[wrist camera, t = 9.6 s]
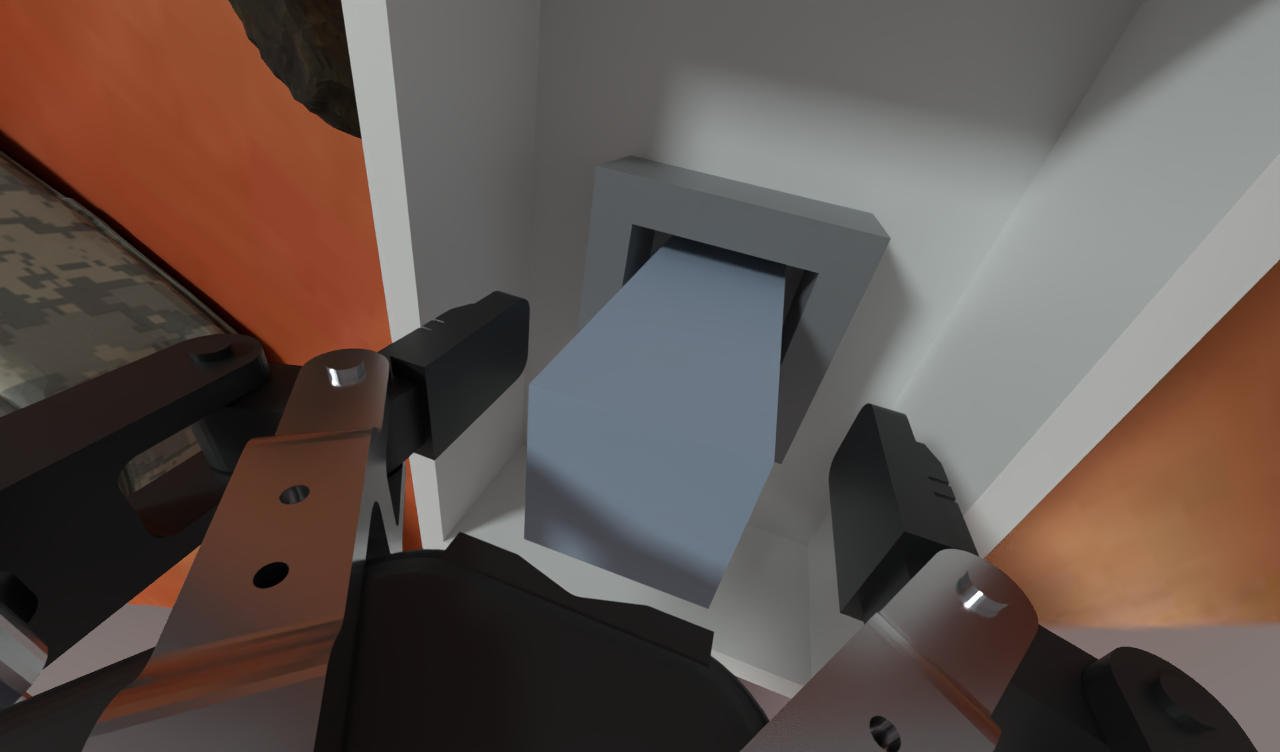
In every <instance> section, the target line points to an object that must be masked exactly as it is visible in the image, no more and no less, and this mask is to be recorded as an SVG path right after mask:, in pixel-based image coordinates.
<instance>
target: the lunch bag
mask: <svg viewBox="0 0 1280 752" xmlns="http://www.w3.org/2000/svg"><path fill="white" fill-rule="evenodd" d="M212 334H238V333H237V332H236V331H235V330H234V329H233V328H232V327H231V326H229V325H228V324H227V323H226V322H225V321H224V320H222V319H221V318H220V317H219V316H217V315H216V314H215V313H214V312H213V311H212V310H210V309H209V308H208V307H207V306H206V305H205V304H204V303H202V302H201V301H200V300H199V299H198V298H197V297H195V296H194V295H193V294H192V293H191V292H189V291H188V290H187V289H186V288H185V287H183V286H182V285H181V284H180V283H179V282H177V281H176V280H175V279H174V278H172V277H171V276H170V275H169V274H167V273H166V272H165V271H163V270H162V269H161V268H160V267H158V266H157V265H156V264H154V263H153V262H152V261H151V260H149V259H148V258H147V257H146V256H144V255H143V254H142V253H140V252H139V251H138V250H137V249H136V248H134V247H133V246H132V245H131V244H129V243H128V242H127V241H126V240H124V239H123V238H122V237H121V236H120V235H119V234H118V233H116V232H115V231H114V230H113V229H112V228H111V227H110V226H109V225H107V224H106V223H105V222H104V221H103V220H101V219H100V218H99V217H97V216H96V215H95V214H93V213H92V212H90V211H89V210H88V209H86V208H85V207H84V206H82V205H81V204H79V203H78V202H77V201H75V200H74V199H72V198H66V197H65V196H64V195H62V194H61V193H59V192H58V191H56V190H55V189H53V188H52V187H51V186H49V185H48V184H46V183H45V182H43V181H42V180H41V179H39V178H38V177H36V176H35V175H34V174H32V173H31V172H30V171H28V170H27V169H25V168H24V167H23V166H21V165H20V164H19V163H17V162H16V161H14V160H13V159H12V158H10V157H9V156H8V155H6V154H5V153H3V152H2V151H1V150H0V417H2V416H5V415H7V414H9V413H12V412H14V411H17V410H19V409H21V408H24V407H26V406H29V405H31V404H33V403H36V402H38V401H41V400H43V399H45V398H48V397H50V396H53V395H55V394H57V393H60V392H62V391H65V390H67V389H69V388H72V387H74V386H77V385H79V384H81V383H84V382H86V381H88V380H91V379H93V378H96V377H98V376H100V375H103V374H105V373H108V372H110V371H112V370H115V369H117V368H120V367H122V366H124V365H127V364H129V363H132V362H134V361H136V360H139V359H141V358H144V357H146V356H148V355H151V354H153V353H156V352H158V351H160V350H163V349H165V348H168V347H170V346H172V345H175V344H177V343H180V342H182V341H185V340H188V339H192V338H196V337H200V336H206V335H212ZM200 451H201V448H200V446H199V444H198V442H197V440H196V438H195V436H194V434H193V432H192V430H191V428H190V426H188V427H186V428H185V429H183V430H181V431H179V432H178V433H176V434H174V435H172V436H171V437H169V438H167V439H165V440H164V441H162V442H160V443H158V444H157V445H155V446H153V447H151V448H150V449H148V450H146V451H144V452H143V453H141V454H139V455H137V456H136V457H134V458H133V459H132V460H131V461H129V462H128V463H127V464H126V465H125V467H124V468H123V469H122V471H121V473H120V475H119V479H118V485H119V488H120V490H121V492H122V493H123V495H124V496H125V498H126V497H128V496H129V495H131V494H133V493H134V492H136V491H137V490H139V489H141V488H142V487H144V486H145V485H147V484H149V483H150V482H152V481H153V480H155V479H157V478H158V477H160V476H161V475H163V474H165V473H166V472H168V471H169V470H171V469H173V468H174V467H176V466H177V465H179V464H181V463H182V462H184V461H185V460H187V459H189V458H190V457H192V456H193V455H195V454H196V453H198V452H200Z"/></svg>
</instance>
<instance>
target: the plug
mask: <svg viewBox="0 0 1280 752" xmlns="http://www.w3.org/2000/svg"><path fill="white" fill-rule="evenodd" d="M785 274H786V264H782V263H778V262H774V261H770V260H767V259H763V258H759V257H755V256H752V255H748V254H744V253H740V252H736V251H733V250H729V249H725V248H721V247H717V246H714V245H710V244H706V243H702V242H699V241H695V240H691V239H687V238H683V237H680V236H676V235H672V236H671V237H670V238H669V240H668V241H667V242H666V243H665V244H664V245H663V246H662V247H661V248H660V249H659V250H658V251H657V252H656V253H655V254H654V255H653V256H652V257H651V258H650V259H649V260H648V261H647V262H646V263H645V264H644V265H643V267H642V268H641V269H640V270H639V271H638V272H637V273H636V274H635V275H634V276H633V277H632V278H631V279H630V280H629V281H628V282H627V283H626V284H625V285H624V286H623V287H622V288H621V289H620V290H619V291H618V292H617V294H616V295H615V296H614V297H613V298H612V299H611V300H610V301H609V302H608V303H607V304H606V305H605V306H604V307H603V308H602V309H601V310H600V311H599V312H598V313H597V314H596V315H595V316H594V317H593V318H592V319H591V321H590V322H589V323H588V324H587V325H586V326H585V327H584V328H583V329H582V330H581V331H580V332H579V333H578V334H577V335H576V336H575V337H574V338H573V339H572V340H571V341H570V342H569V343H568V344H567V345H566V346H565V348H564V349H563V350H562V351H561V352H560V353H559V354H558V355H557V356H556V357H555V358H554V359H553V360H552V361H551V362H550V363H549V364H548V365H547V366H546V367H545V368H544V369H543V370H542V371H541V372H540V373H539V375H538V376H537V377H536V378H535V379H534V380H533V381H532V382H531V383H530V384H529V400H528V431H527V462H526V492H525V523H524V539H525V540H528V541H531V542H533V543H536V544H538V545H541V546H544V547H546V548H549V549H552V550H554V551H557V552H560V553H562V554H565V555H567V556H570V557H573V558H575V559H578V560H581V561H583V562H586V563H589V564H591V565H594V566H596V567H599V568H602V569H604V570H607V571H610V572H612V573H615V574H617V575H620V576H623V577H625V578H628V579H631V580H633V581H636V582H639V583H641V584H644V585H646V586H649V587H652V588H654V589H657V590H660V591H662V592H665V593H668V594H670V595H673V596H675V597H678V598H681V599H683V600H686V601H689V602H691V603H694V604H697V605H699V606H702V607H704V608H707V609H709V606H710V604H711V602H712V600H713V598H714V595H715V593H716V591H717V589H718V586H719V584H720V582H721V580H722V578H723V575H724V573H725V571H726V569H727V566H728V564H729V562H730V560H731V558H732V555H733V553H734V551H735V549H736V547H737V544H738V542H739V540H740V538H741V535H742V533H743V531H744V529H745V527H746V524H747V522H748V520H749V518H750V515H751V513H752V511H753V509H754V507H755V504H756V502H757V500H758V498H759V495H760V493H761V491H762V489H763V487H764V484H765V482H766V480H767V478H768V475H769V473H770V471H771V469H772V467H773V464H774V458H775V441H776V424H777V408H778V391H779V374H780V357H781V341H782V324H783V307H784V291H785Z"/></svg>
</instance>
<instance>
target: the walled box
mask: <svg viewBox="0 0 1280 752" xmlns="http://www.w3.org/2000/svg"><path fill="white" fill-rule="evenodd" d="M341 2H342V9H343V16H344V23H345V29H346V36H347V43H348V49H349V56H350V63H351V70H352V76H353V83H354V90H355V96H356V103H357V110H358V117H359V123H360V130H361V137H362V144H363V150H364V157H365V164H366V170H367V177H368V184H369V191H370V197H371V204H372V211H373V217H374V224H375V231H376V238H377V244H378V251H379V258H380V264H381V271H382V278H383V285H384V291H385V298H386V305H387V312H388V318H389V325H390V332H391V338H392V343H394V342H395V341H397V340H399V339H401V338H402V337H404V336H406V335H407V334H409V333H411V332H412V331H414V330H416V329H418V328H422V326H423V325H424V324H426V323H428V322H429V321H431V320H434V321H435V318H436V317H438V316H440V315H441V314H443V313H445V312H446V311H448V310H450V309H452V308H456V307H460V306H464V305H468V304H471V303H472V304H474V303H476V302H478V301H479V300H481V299H483V298H484V297H486V296H487V295H489V294H491V293H492V292H494V291H501V292H504V293H507V294H511V295H514V296H517V297H521V298H524V299H526V300H527V301H528V302H529V306H530V319H529V343H528V358H527V363H526V366H525V368H524V370H523V372H522V374H521V376H520V377H519V378H518V379H517V380H516V381H515V382H514V383H513V384H512V385H511V386H510V387H509V388H508V389H507V390H506V391H505V392H504V393H503V394H502V395H501V396H500V397H499V398H498V399H497V400H496V401H495V402H494V403H493V404H492V405H491V406H490V407H489V408H488V409H487V410H486V411H485V412H484V413H483V414H482V415H481V416H480V417H478V418H477V419H476V420H475V421H474V422H473V423H472V424H471V425H470V426H469V427H468V428H467V429H466V430H465V431H464V432H463V433H462V434H461V435H460V436H459V437H458V438H457V439H456V440H455V441H454V442H453V443H452V444H451V445H450V446H449V447H448V448H447V449H446V450H445V451H444V452H443V453H442V454H441V455H440V456H439V457H438V458H437V459H436V460H432V459H429V458H426V457H424V456H421V455H418V454H416V453H413V454H412V455H411V456H409V459H410V466H411V473H412V480H413V486H414V493H415V500H416V506H417V513H418V520H419V527H420V533H421V540H422V547H423V549H441V550H446V548H447V547H448V546H449V544H450V543H451V542H452V541H453V539H454V538H455V537H456V536H457V534H458V533H459V532H462V533H465V534H467V535H470V536H472V537H475V538H477V539H480V540H483V541H485V542H488V543H490V544H493V545H495V546H498V547H500V548H503V549H505V550H508V551H510V552H513V553H516V554H518V555H519V556H521V557H522V558H523V559H525V560H526V561H527V562H529V563H530V564H531V565H533V566H534V567H535V568H537V569H538V570H539V571H541V572H542V573H543V574H545V575H546V576H547V577H549V578H550V579H551V580H553V581H554V582H555V583H557V584H558V585H559V586H561V587H562V588H563V589H565V590H566V591H567V592H569V593H571V594H573V595H575V596H578V597H584V598H592V599H600V600H608V601H616V602H624V603H632V604H640V605H647V606H650V607H653V608H655V609H658V610H660V611H663V612H665V613H668V614H670V615H673V616H675V617H678V618H680V619H683V620H686V621H688V622H691V623H693V624H696V625H698V626H701V627H703V628H706V629H708V630H711V631H713V632H714V637H713V644H712V650H711V656H712V657H714V658H715V659H716V660H718V661H719V662H720V663H721V664H723V665H724V666H725V667H726V668H727V669H728V670H729V671H730V672H731V673H732V674H734V675H735V676H737V677H740V678H742V679H745V680H747V681H750V682H752V683H755V684H757V685H760V686H762V687H764V688H767V689H769V690H772V691H774V692H777V693H779V694H782V695H784V696H787V697H789V698H791V699H792V698H793V697H794V696H795V695H796V694H797V693H798V692H799V691H800V690H801V689H802V688H803V687H804V686H805V685H806V684H807V683H808V682H809V681H810V680H811V679H812V678H813V677H814V676H815V674H816V673H817V672H818V671H819V670H820V669H821V668H822V667H823V666H824V665H825V664H826V663H827V662H828V661H829V660H830V659H831V658H832V657H833V656H834V655H835V654H836V653H837V652H838V651H839V650H840V649H841V648H842V647H843V646H844V645H845V644H846V643H847V642H848V641H849V640H850V639H851V638H852V637H853V636H854V635H855V634H856V633H857V632H858V631H859V630H860V629H861V628H862V627H863V626H864V622H863V621H860V620H858V619H855V618H852V617H850V616H847V615H844V614H841V613H840V608H839V597H838V585H837V574H836V562H835V551H834V540H833V528H832V517H831V505H830V494H829V482H828V479H829V471H830V467H831V463H832V461H833V458H834V456H835V454H836V452H837V450H838V448H839V447H840V445H841V443H842V441H843V440H844V438H845V436H846V434H847V433H848V431H849V429H850V427H851V426H852V424H853V422H854V420H855V419H856V417H857V415H858V413H859V412H860V410H861V409H862V407H863V406H864V405H865V404H867V403H870V404H874V405H877V406H880V407H884V408H887V409H890V410H893V411H897V412H900V413H903V414H905V415H906V416H907V418H908V421H909V423H910V426H911V429H912V432H913V435H914V437H915V440H916V441H917V442H920V443H923V444H925V445H926V446H927V448H928V449H929V450H930V451H931V452H932V453H933V454H934V456H935V457H936V458H937V459H938V460H939V461H940V462H941V464H942V466H943V469H944V471H945V473H946V476H947V478H948V481H949V485H948V486H950V487H951V488H952V491H953V493H954V495H955V498H956V500H955V502H956V503H958V505H959V508H960V510H961V513H962V515H963V518H964V520H965V522H966V525H967V527H968V530H969V532H970V535H971V537H972V540H973V542H974V545H975V547H976V549H977V552H978V554H979V557H981V558H983V559H984V558H985V557H986V556H987V555H988V554H989V553H990V552H991V551H992V550H993V549H994V548H995V547H996V546H997V545H998V544H999V543H1000V542H1001V541H1002V540H1003V539H1004V538H1005V537H1006V536H1007V535H1008V534H1009V532H1010V531H1011V530H1012V529H1013V528H1014V527H1015V526H1016V525H1017V524H1018V523H1019V522H1020V521H1021V520H1022V519H1023V518H1024V517H1025V516H1026V515H1027V514H1028V513H1029V512H1030V511H1031V510H1032V509H1033V508H1034V507H1035V506H1036V505H1037V504H1038V503H1039V502H1040V501H1041V500H1042V499H1043V498H1044V497H1045V496H1046V495H1047V494H1048V493H1049V492H1050V491H1051V490H1052V489H1053V488H1054V487H1055V486H1056V485H1057V484H1058V483H1059V482H1060V481H1061V480H1062V479H1063V478H1064V477H1065V476H1066V475H1067V474H1068V473H1069V472H1070V471H1071V470H1072V469H1073V468H1074V467H1075V466H1076V465H1077V464H1078V463H1079V462H1080V461H1081V460H1082V459H1083V458H1084V457H1085V456H1086V455H1087V454H1088V453H1089V452H1090V451H1091V450H1092V449H1093V448H1094V447H1095V446H1096V445H1097V444H1098V443H1099V442H1100V441H1101V440H1102V439H1103V438H1104V437H1105V435H1106V434H1107V433H1108V432H1109V431H1110V430H1111V429H1112V428H1113V427H1114V426H1115V425H1116V424H1117V423H1118V422H1119V421H1120V420H1121V419H1122V418H1123V417H1124V416H1125V415H1126V414H1127V413H1128V412H1129V411H1130V410H1131V409H1132V408H1133V407H1134V406H1135V405H1136V404H1137V403H1138V402H1139V401H1140V400H1141V399H1142V398H1143V397H1144V396H1145V395H1146V394H1147V393H1148V392H1149V391H1150V390H1151V389H1152V388H1153V387H1154V386H1155V385H1156V384H1157V383H1158V382H1159V381H1160V380H1161V379H1162V378H1163V377H1164V376H1165V375H1166V374H1167V373H1168V372H1169V371H1170V370H1171V369H1172V368H1173V367H1174V366H1175V365H1176V364H1177V363H1178V362H1179V361H1180V360H1181V359H1182V358H1183V357H1184V356H1185V355H1186V354H1187V353H1188V352H1189V351H1190V350H1191V349H1192V348H1193V347H1194V346H1195V345H1196V344H1197V343H1198V342H1199V341H1200V339H1201V338H1202V337H1203V336H1204V335H1205V334H1206V333H1207V332H1208V331H1209V330H1210V329H1211V328H1212V327H1213V326H1214V325H1215V324H1216V323H1217V322H1218V321H1219V320H1220V319H1221V318H1222V317H1223V316H1224V315H1225V314H1226V313H1227V312H1228V311H1229V310H1230V309H1231V308H1232V307H1233V306H1234V305H1235V304H1236V303H1237V302H1238V301H1239V300H1240V299H1241V298H1242V297H1243V296H1244V295H1245V294H1246V293H1247V292H1248V291H1249V290H1250V289H1251V288H1252V287H1253V286H1254V285H1255V284H1256V283H1257V282H1258V281H1259V280H1260V279H1261V278H1262V277H1263V276H1264V275H1265V274H1266V273H1267V272H1268V271H1269V270H1270V269H1271V268H1272V267H1273V266H1274V265H1275V264H1276V263H1277V262H1278V261H1279V260H1280V0H341ZM672 235H676V236H680V237H683V238H687V239H691V240H695V241H699V242H702V243H706V244H710V245H714V246H717V247H721V248H725V249H729V250H733V251H736V252H740V253H744V254H748V255H752V256H755V257H759V258H763V259H767V260H770V261H774V262H778V263H782V264H786V274H785V291H784V307H783V324H782V341H781V357H780V374H779V391H778V408H777V424H776V441H775V458H774V464H773V467H772V469H771V471H770V473H769V475H768V478H767V480H766V482H765V484H764V487H763V489H762V491H761V493H760V495H759V498H758V500H757V502H756V504H755V507H754V509H753V511H752V513H751V515H750V518H749V520H748V522H747V524H746V527H745V529H744V531H743V533H742V535H741V538H740V540H739V542H738V544H737V547H736V549H735V551H734V553H733V555H732V558H731V560H730V562H729V564H728V566H727V569H726V571H725V573H724V575H723V578H722V580H721V582H720V584H719V586H718V589H717V591H716V593H715V595H714V598H713V600H712V602H711V604H710V606H709V609H707V608H704V607H702V606H699V605H697V604H694V603H691V602H689V601H686V600H683V599H681V598H678V597H675V596H673V595H670V594H668V593H665V592H662V591H660V590H657V589H654V588H652V587H649V586H646V585H644V584H641V583H639V582H636V581H633V580H631V579H628V578H625V577H623V576H620V575H617V574H615V573H612V572H610V571H607V570H604V569H602V568H599V567H596V566H594V565H591V564H589V563H586V562H583V561H581V560H578V559H575V558H573V557H570V556H567V555H565V554H562V553H560V552H557V551H554V550H552V549H549V548H546V547H544V546H541V545H538V544H536V543H533V542H531V541H528V540H525V539H524V523H525V492H526V462H527V431H528V400H529V384H530V383H531V382H532V381H533V380H534V379H535V378H536V377H537V376H538V375H539V373H540V372H541V371H542V370H543V369H544V368H545V367H546V366H547V365H548V364H549V363H550V362H551V361H552V360H553V359H554V358H555V357H556V356H557V355H558V354H559V353H560V352H561V351H562V350H563V349H564V348H565V346H566V345H567V344H568V343H569V342H570V341H571V340H572V339H573V338H574V337H575V336H576V335H577V334H578V333H579V332H580V331H581V330H582V329H583V328H584V327H585V326H586V325H587V324H588V323H589V322H590V321H591V319H592V318H593V317H594V316H595V315H596V314H597V313H598V312H599V311H600V310H601V309H602V308H603V307H604V306H605V305H606V304H607V303H608V302H609V301H610V300H611V299H612V298H613V297H614V296H615V295H616V294H617V292H618V291H619V290H620V289H621V288H622V287H623V286H624V285H625V284H626V283H627V282H628V281H629V280H630V279H631V278H632V277H633V276H634V275H635V274H636V273H637V272H638V271H639V270H640V269H641V268H642V267H643V265H644V264H645V263H646V262H647V261H648V260H649V259H650V258H651V257H652V256H653V255H654V254H655V253H656V252H657V251H658V250H659V249H660V248H661V247H662V246H663V245H664V244H665V243H666V242H667V241H668V240H669V238H670V237H671V236H672Z"/></svg>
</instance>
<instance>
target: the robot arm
mask: <svg viewBox="0 0 1280 752" xmlns="http://www.w3.org/2000/svg"><path fill="white" fill-rule="evenodd" d="M529 319H530V306H529V302H528V301H527V300H526V299H524V298H521V297H517V296H514V295H511V294H507V293H504V292H501V291H494V292H492V293H491V294H489V295H487V296H486V297H484V298H483V299H481V300H479V301H478V302H476V303H474V304H472V303H471V304H468V305H464V306H460V307H456V308H452V309H450V310H448V311H446V312H445V313H443V314H441V315H440V316H438V317H436V318H435V321H434V320H431V321H429V322H428V323H426V324H424V325H423V326H422V328H418V329H416V330H414V331H412V332H411V333H409V334H407V335H406V336H404V337H402V338H401V339H399V340H397V341H395V342H394V343H392V344H390V345H389V346H387V347H385V348H384V349H382V350H380V351H378V352H374V351H371V350H366V349H342V350H335V351H331V352H327V353H324V354H321V355H319V356H316V357H314V358H313V359H311V360H309V361H308V362H307V363H305V364H304V365H303V366H297V365H287V364H277V363H268V361H267V359H266V356H265V353H264V350H263V347H262V344H261V343H260V341H259V340H257V339H255V338H253V337H250V336H247V335H241V334H212V335H206V336H200V337H196V338H192V339H188V340H185V341H182V342H180V343H177V344H175V345H172V346H170V347H168V348H165V349H163V350H160V351H158V352H156V353H153V354H151V355H148V356H146V357H144V358H141V359H139V360H136V361H134V362H132V363H129V364H127V365H124V366H122V367H120V368H117V369H115V370H112V371H110V372H108V373H105V374H103V375H100V376H98V377H96V378H93V379H91V380H88V381H86V382H84V383H81V384H79V385H77V386H74V387H72V388H69V389H67V390H65V391H62V392H60V393H57V394H55V395H53V396H50V397H48V398H45V399H43V400H41V401H38V402H36V403H33V404H31V405H29V406H26V407H24V408H21V409H19V410H17V411H14V412H12V413H9V414H7V415H5V416H2V417H0V752H1258V751H1257V750H1256V748H1255V747H1254V745H1253V744H1252V742H1251V741H1250V739H1249V738H1248V736H1247V735H1246V733H1245V732H1244V731H1243V729H1242V728H1241V727H1240V725H1239V724H1238V722H1237V721H1236V720H1235V719H1234V718H1233V716H1232V715H1231V714H1230V713H1229V712H1228V711H1227V709H1226V708H1225V707H1224V706H1222V704H1221V703H1220V702H1219V701H1218V700H1217V699H1216V698H1215V697H1214V696H1212V695H1211V694H1210V693H1209V692H1208V691H1207V690H1206V689H1205V688H1204V687H1202V686H1201V685H1200V684H1199V683H1197V682H1196V681H1195V680H1194V679H1193V678H1191V677H1190V676H1188V675H1187V674H1186V673H1184V672H1183V671H1181V670H1180V669H1178V668H1177V667H1175V666H1174V665H1172V664H1170V663H1169V662H1167V661H1165V660H1163V659H1162V658H1160V657H1158V656H1156V655H1153V654H1151V653H1149V652H1147V651H1144V650H1141V649H1138V648H1132V647H1120V648H1116V649H1115V650H1113V651H1112V652H1110V653H1108V654H1107V655H1105V656H1104V657H1102V658H1101V659H1099V660H1098V659H1096V658H1095V657H1093V656H1092V655H1090V654H1088V653H1086V652H1085V651H1083V650H1081V649H1080V648H1078V647H1076V646H1075V645H1073V644H1071V643H1069V642H1068V641H1066V640H1064V639H1063V638H1061V637H1059V636H1057V635H1056V634H1054V633H1052V632H1051V631H1049V630H1047V629H1046V628H1044V627H1042V626H1041V625H1039V624H1038V618H1037V614H1036V612H1035V610H1034V607H1033V606H1032V604H1031V602H1030V601H1029V599H1028V598H1027V596H1026V595H1025V594H1024V592H1023V591H1022V590H1021V589H1020V588H1019V586H1018V585H1017V584H1016V583H1015V582H1014V581H1013V580H1012V579H1011V578H1009V577H1008V576H1007V575H1006V574H1005V573H1004V572H1002V571H1001V570H1000V569H998V568H997V567H996V566H994V565H993V564H991V563H989V562H988V561H986V560H984V559H983V558H981V557H979V554H978V552H977V549H976V547H975V545H974V542H973V540H972V537H971V535H970V532H969V530H968V527H967V525H966V522H965V520H964V518H963V515H962V513H961V510H960V508H959V505H958V503H956V502H955V500H956V498H955V495H954V493H953V491H952V488H951V487H950V486H948V485H949V481H948V478H947V476H946V473H945V471H944V469H943V466H942V464H941V462H940V461H939V460H938V459H937V458H936V457H935V456H934V454H933V453H932V452H931V451H930V450H929V449H928V448H927V446H926V445H925V444H923V443H920V442H917V441H916V440H915V437H914V435H913V432H912V429H911V426H910V423H909V421H908V418H907V416H906V415H905V414H903V413H900V412H897V411H893V410H890V409H887V408H884V407H880V406H877V405H874V404H870V403H867V404H865V405H864V406H863V407H862V409H861V410H860V412H859V413H858V415H857V417H856V419H855V420H854V422H853V424H852V426H851V427H850V429H849V431H848V433H847V434H846V436H845V438H844V440H843V441H842V443H841V445H840V447H839V448H838V450H837V452H836V454H835V456H834V458H833V461H832V463H831V467H830V471H829V479H828V482H829V494H830V505H831V517H832V528H833V540H834V551H835V562H836V574H837V585H838V597H839V608H840V613H841V614H844V615H847V616H850V617H852V618H855V619H858V620H860V621H863V622H864V626H863V627H862V628H861V629H860V630H859V631H858V632H857V633H856V634H855V635H854V636H853V637H852V638H851V639H850V640H849V641H848V642H847V643H846V644H845V645H844V646H843V647H842V648H841V649H840V650H839V651H838V652H837V653H836V654H835V655H834V656H833V657H832V658H831V659H830V660H829V661H828V662H827V663H826V664H825V665H824V666H823V667H822V668H821V669H820V670H819V671H818V672H817V673H816V674H815V676H814V677H813V678H812V679H811V680H810V681H809V682H808V683H807V684H806V685H805V686H804V687H803V688H802V689H801V690H800V691H799V692H798V693H797V694H796V695H795V696H794V697H793V698H792V699H791V700H790V701H789V702H788V703H787V704H786V705H785V706H784V707H783V708H782V709H781V710H780V711H779V712H778V713H777V714H776V715H775V716H774V717H773V719H771V721H769V719H768V718H767V716H766V714H765V713H764V711H763V710H762V708H761V707H760V705H759V704H758V703H757V701H756V700H755V699H754V697H753V696H752V695H751V693H750V692H749V691H748V690H747V689H746V687H745V686H744V685H743V684H742V683H741V682H740V681H739V680H738V679H737V677H736V676H735V675H734V674H732V673H731V672H730V671H729V670H728V669H727V668H726V667H725V666H724V665H723V664H721V663H720V662H719V661H718V660H716V659H715V658H714V657H712V656H711V650H712V644H713V637H714V632H713V631H711V630H708V629H706V628H703V627H701V626H698V625H696V624H693V623H691V622H688V621H686V620H683V619H680V618H678V617H675V616H673V615H670V614H668V613H665V612H663V611H660V610H658V609H655V608H653V607H650V606H647V605H640V604H632V603H624V602H616V601H608V600H600V599H592V598H584V597H578V596H575V595H573V594H571V593H569V592H567V591H566V590H565V589H563V588H562V587H561V586H559V585H558V584H557V583H555V582H554V581H553V580H551V579H550V578H549V577H547V576H546V575H545V574H543V573H542V572H541V571H539V570H538V569H537V568H535V567H534V566H533V565H531V564H530V563H529V562H527V561H526V560H525V559H523V558H522V557H521V556H519V555H518V554H516V553H513V552H510V551H508V550H505V549H503V548H500V547H498V546H495V545H493V544H490V543H488V542H485V541H483V540H480V539H477V538H475V537H472V536H470V535H467V534H465V533H462V532H459V533H458V534H457V536H456V537H455V538H454V539H453V541H452V542H451V543H450V544H449V546H448V547H447V548H446V550H441V549H419V550H409V551H402V535H403V518H404V500H405V482H406V465H405V460H406V459H407V458H408V457H409V456H411V455H412V454H413V453H416V454H418V455H421V456H424V457H426V458H429V459H432V460H436V459H437V458H438V457H439V456H440V455H441V454H442V453H443V452H444V451H445V450H446V449H447V448H448V447H449V446H450V445H451V444H452V443H453V442H454V441H455V440H456V439H457V438H458V437H459V436H460V435H461V434H462V433H463V432H464V431H465V430H466V429H467V428H468V427H469V426H470V425H471V424H472V423H473V422H474V421H475V420H476V419H477V418H478V417H480V416H481V415H482V414H483V413H484V412H485V411H486V410H487V409H488V408H489V407H490V406H491V405H492V404H493V403H494V402H495V401H496V400H497V399H498V398H499V397H500V396H501V395H502V394H503V393H504V392H505V391H506V390H507V389H508V388H509V387H510V386H511V385H512V384H513V383H514V382H515V381H516V380H517V379H518V378H519V377H520V376H521V374H522V372H523V370H524V368H525V366H526V363H527V358H528V343H529ZM188 426H190V428H191V430H192V432H193V434H194V436H195V438H196V440H197V442H198V444H199V446H200V448H201V451H200V452H198V453H196V454H195V455H193V456H192V457H190V458H189V459H187V460H185V461H184V462H182V463H181V464H179V465H177V466H176V467H174V468H173V469H171V470H169V471H168V472H166V473H165V474H163V475H161V476H160V477H158V478H157V479H155V480H153V481H152V482H150V483H149V484H147V485H145V486H144V487H142V488H141V489H139V490H137V491H136V492H134V493H133V494H131V495H129V496H128V497H126V498H125V496H124V495H123V493H122V492H121V490H120V488H119V485H118V479H119V475H120V473H121V471H122V469H123V468H124V467H125V465H126V464H127V463H128V462H129V461H131V460H132V459H133V458H134V457H136V456H137V455H139V454H141V453H143V452H144V451H146V450H148V449H150V448H151V447H153V446H155V445H157V444H158V443H160V442H162V441H164V440H165V439H167V438H169V437H171V436H172V435H174V434H176V433H178V432H179V431H181V430H183V429H185V428H186V427H188ZM199 545H201V546H200V548H199V550H198V553H197V555H196V557H195V559H194V562H193V564H192V566H191V568H190V570H189V573H188V575H187V577H186V579H185V582H184V584H183V586H182V588H181V591H180V593H179V595H178V597H177V600H176V602H175V604H174V606H173V609H172V611H171V613H170V615H169V618H168V620H167V623H166V624H165V626H164V629H163V631H162V633H161V635H160V638H159V640H158V642H157V645H156V647H153V648H151V649H148V650H146V651H143V652H141V653H139V654H136V655H134V656H131V657H129V658H126V659H124V660H121V661H119V662H117V663H114V664H111V665H109V666H107V667H104V668H102V669H99V670H97V671H94V672H92V673H89V674H87V675H84V676H82V677H80V678H77V679H75V680H72V681H70V682H67V683H65V684H62V685H60V686H57V687H55V688H52V689H50V690H48V691H45V692H43V693H40V694H38V695H36V696H33V697H32V696H31V695H29V694H28V693H27V692H26V691H27V690H28V689H29V688H30V687H31V685H32V684H33V683H34V682H35V680H36V679H37V677H38V676H39V675H40V673H41V671H42V670H43V669H44V668H45V667H47V666H48V665H49V664H50V663H52V662H53V661H54V660H56V659H57V658H58V657H59V656H61V655H62V654H63V653H65V651H67V650H68V649H69V648H71V647H72V646H73V645H75V644H76V643H77V642H78V641H80V640H81V639H82V638H83V637H85V636H86V635H87V634H88V633H90V632H91V631H92V630H94V629H95V628H96V627H97V626H98V625H100V624H101V623H102V622H104V621H105V620H106V619H107V618H109V617H110V616H111V615H112V614H113V613H115V612H116V611H117V610H119V609H120V608H121V607H123V606H124V605H125V604H126V603H128V602H129V601H130V600H131V599H133V598H134V597H135V596H136V595H138V594H139V593H140V592H141V591H143V590H144V589H145V588H147V587H148V586H149V585H150V584H152V583H153V582H154V581H155V580H157V579H158V578H159V577H160V576H162V575H163V574H164V573H165V572H167V571H168V570H169V569H170V568H172V567H173V566H174V565H176V564H177V563H178V562H179V561H181V560H182V559H183V558H184V557H186V556H187V555H188V554H189V553H191V552H192V551H193V550H194V549H196V548H197V547H198V546H199Z"/></svg>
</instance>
